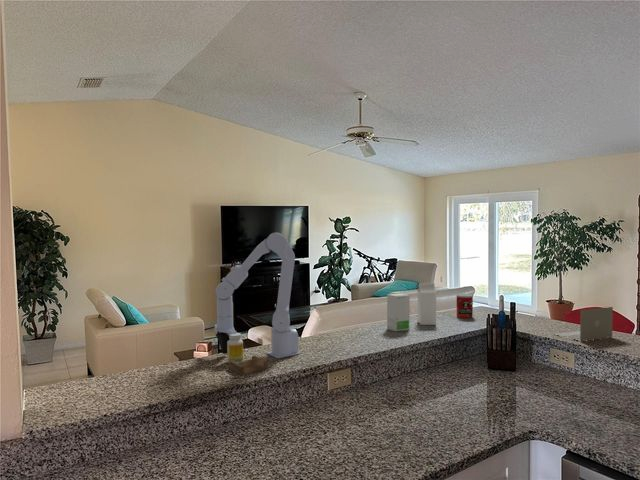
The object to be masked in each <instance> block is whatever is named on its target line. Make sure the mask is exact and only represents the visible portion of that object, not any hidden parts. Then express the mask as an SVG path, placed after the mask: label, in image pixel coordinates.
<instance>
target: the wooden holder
mask: <svg viewBox="0 0 640 480" xmlns="http://www.w3.org/2000/svg"><path fill="white" fill-rule="evenodd" d="M229 362H230V363H229V370H231V371H233V372H235V373H236V374H238V375H240V376H243V375H244V376H245V375H248V374H253V373H257V372H261V371H265V370H266V371H267V370H268V357H267V356H259V357H258V356H256V355H252V356H251V358H250V359H246V360H243V361H240V362H239V363H237V362H235V361H233V360H232V361H229Z"/></svg>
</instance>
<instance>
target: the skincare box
mask: <svg viewBox="0 0 640 480" xmlns="http://www.w3.org/2000/svg"><path fill="white" fill-rule="evenodd" d="M386 299H387V301H386V310H387V311H386V329H387V330H389V331H392V332H402V331H410V310H411V309H410V308H411V306H410V301H411V300H410V294H405V293H391V294H389V293H388V294H386Z"/></svg>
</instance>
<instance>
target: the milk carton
mask: <svg viewBox="0 0 640 480" xmlns="http://www.w3.org/2000/svg"><path fill="white" fill-rule="evenodd" d="M417 322H418V323H419V324H420V325H421V326H425V325H427V326H428V325H429V326H434V325H437V290H436V286H435V282H419V284H418V288H417Z"/></svg>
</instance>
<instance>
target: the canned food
mask: <svg viewBox="0 0 640 480" xmlns="http://www.w3.org/2000/svg"><path fill="white" fill-rule="evenodd" d="M473 296H474V295H473V294H470V293H458V294H456V317H457V318H459V319H472V318H473V313H474V312H473V310H474V307H473V305H474V297H473Z"/></svg>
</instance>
